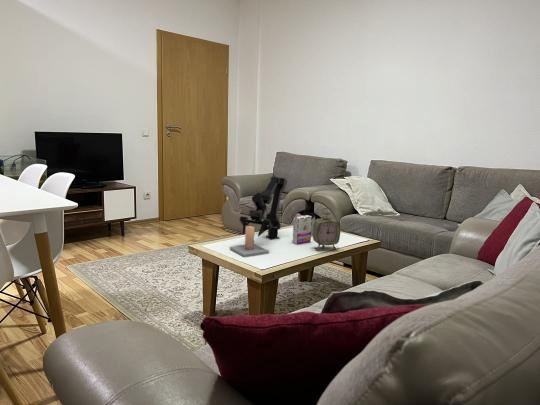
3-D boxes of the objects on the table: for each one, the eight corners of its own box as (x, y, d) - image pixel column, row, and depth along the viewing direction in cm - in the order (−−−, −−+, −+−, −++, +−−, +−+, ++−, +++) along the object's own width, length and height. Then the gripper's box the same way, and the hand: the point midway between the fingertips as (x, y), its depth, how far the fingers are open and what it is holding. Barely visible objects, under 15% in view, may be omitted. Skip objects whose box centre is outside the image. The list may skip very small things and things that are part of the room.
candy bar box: (305, 240, 273) (307, 214, 270) (310, 242, 269) (312, 216, 266) (291, 242, 266) (293, 216, 263) (297, 244, 262) (298, 218, 259)
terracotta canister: (244, 247, 246) (245, 225, 244) (253, 247, 247) (254, 225, 244) (244, 250, 241) (245, 227, 239) (253, 250, 242) (254, 227, 239)
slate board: (229, 249, 246) (229, 246, 246) (253, 246, 255) (253, 243, 255) (244, 257, 233) (244, 254, 233) (268, 253, 242) (269, 250, 242)
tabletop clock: (316, 251, 250) (318, 209, 245) (310, 247, 258) (312, 206, 254) (339, 250, 254) (342, 208, 249) (332, 246, 262) (335, 205, 258)
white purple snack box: (312, 237, 281) (314, 214, 279) (291, 234, 286) (293, 212, 283) (315, 234, 290) (317, 212, 287) (295, 231, 294) (296, 209, 291)
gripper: (241, 202, 249) (231, 225, 241) (271, 206, 242) (262, 229, 234) (246, 213, 258) (237, 235, 250) (275, 217, 251) (267, 240, 243)
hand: (250, 234), depth 244 cm, fingers open, 9 cm apart
